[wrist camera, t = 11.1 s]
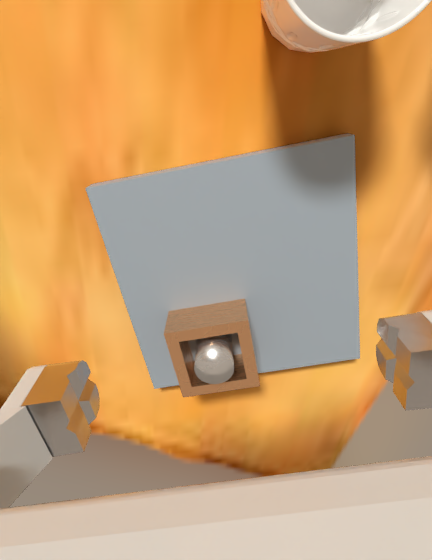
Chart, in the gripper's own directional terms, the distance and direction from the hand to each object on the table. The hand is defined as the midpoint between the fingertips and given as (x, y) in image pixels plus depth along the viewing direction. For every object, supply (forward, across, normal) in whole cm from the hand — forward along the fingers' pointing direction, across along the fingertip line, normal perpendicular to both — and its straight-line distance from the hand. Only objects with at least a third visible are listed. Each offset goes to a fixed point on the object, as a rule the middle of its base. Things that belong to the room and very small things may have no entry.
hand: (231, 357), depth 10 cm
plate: (+21, -1, +8) cm, 22 cm away
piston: (+20, +2, +13) cm, 23 cm away
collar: (+20, +2, +13) cm, 23 cm away
